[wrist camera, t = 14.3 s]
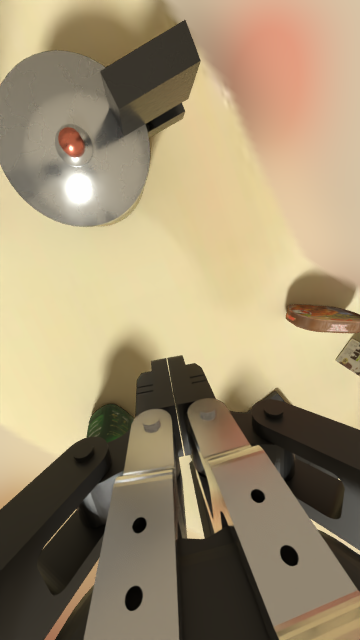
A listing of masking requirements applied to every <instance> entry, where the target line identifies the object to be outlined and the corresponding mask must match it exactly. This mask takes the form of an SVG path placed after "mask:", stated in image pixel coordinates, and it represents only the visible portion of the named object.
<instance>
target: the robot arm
mask: <svg viewBox="0 0 360 640" xmlns="http://www.w3.org/2000/svg"><path fill="white" fill-rule="evenodd" d="M167 359H168V365H169V371H170V376H169V371H168V365H167V360H166V358H164V359H159V360H153V361H151V366H152V371H151V372H146V373H141V375H140V376H139V378H138V379H137V389H136V394H137V395H136V414H135V419H134V420H133V422H132V425H131V428H130V430H129V431H128V432H126V433H125V434H124V435H122V436H121V437H119V438H117V439H115V440H113V441H110V442H108V443H107V442H106V441H105V440H104V439H103V438H101V437H96V436H95V437H88V438H84V439H82V440H80V441H78V442H76V443H75V444H73V445H72V446H71V447H70V448H69V449H67V450H66V451H65V452H64V453H63V454H62V455H61V456H60V457H59V458H57V459H56V460H55V461H54V462H53V463H52V464H51V465H50V466H49V467H47V468H46V469H45V470H44V471H43V472H42V473H41V474H40V475H39V476H37V477H36V478H35V479H34V480H33V481H32V482H31V483H30V484H28V485H27V486H26V487H25V488H24V489H23V490H22V491H21V492H20V493H18V494H17V495H16V496H15V497H14V498H13V499H12V500H11V501H10V502H8V503H7V504H6V505H5V506H4V507H3V508H2V509H1V510H0V640H44V639H45V638H46V636H47V634H48V633H49V632H50V630H51V629H52V627H53V626H54V624H55V623H56V621H57V620H58V618H59V617H60V615H61V614H62V612H63V611H64V609H65V608H66V606H67V605H68V603H69V602H70V600H71V599H72V597H73V596H74V594H75V593H76V591H77V590H78V589H79V587H80V586H81V584H82V583H83V581H84V580H85V578H86V577H87V575H88V574H89V572H90V571H91V569H92V568H93V566H94V565H95V563H96V562H97V560H98V559H99V564H98V568H97V573H96V579H95V584H94V585H93V587H92V588H91V589H90V590H89V591H88V592H87V593H86V594H85V596H84V597H83V598H82V599H81V601H80V602H79V603H78V605H77V606H76V607H75V609H74V610H73V612H72V613H71V615H70V616H69V618H68V619H67V621H66V623H65V624H64V626H63V628H62V629H61V631H60V632H59V634H58V636H57V637H56V639H55V640H360V555H359V554H357V553H356V552H354V551H353V550H351V549H350V548H348V547H347V546H346V545H344V544H343V543H341V542H340V541H338V540H337V539H335V538H333V537H331V536H330V535H328V534H326V533H324V532H322V531H320V530H317V529H316V527H315V526H314V524H313V523H312V521H311V520H310V519H312V520H313V521H315V522H316V523H318V524H320V525H321V526H323V527H324V528H326V529H327V530H329V531H330V532H332V533H334V534H335V535H337V536H338V537H340V538H341V539H343V540H344V541H346V542H348V543H349V544H351V545H352V546H354V547H355V548H357V549H358V550H360V430H358V429H356V428H353V427H350V426H348V425H345V424H342V423H339V422H337V421H334V420H331V419H329V418H326V417H323V416H320V415H318V414H315V413H312V412H309V411H307V410H304V409H301V408H299V407H296V406H293V405H290V404H288V403H285V402H282V401H279V400H273V399H266V400H261V401H259V402H257V403H256V404H254V406H253V407H252V411H251V413H242V412H233V411H229V410H228V409H227V407H226V405H225V404H224V403H223V402H221V401H219V400H217V399H216V398H215V396H214V394H213V392H212V389H211V387H210V385H209V383H208V381H207V378H206V376H205V374H204V372H203V370H202V368H201V367H200V366H198V365H197V364H195V363H193V364H188V365H185V362H184V359H183V356H182V355H181V356H175V357H170V358H167ZM170 377H171V381H170ZM171 383H172V386H171ZM172 389H173V391H172ZM173 395H174V396H173ZM174 400H175V401H174ZM175 405H176V407H175ZM176 410H177V413H176ZM177 415H178V419H177ZM178 420H179V425H180V431H181V436H182V441H183V446H184V451H185V456H186V455H191V457H192V461H193V465H194V467H195V469H196V474H197V478H198V481H199V484H200V487H201V490H202V494H203V497H204V500H205V503H206V506H207V509H208V513H209V516H210V519H211V522H212V525H213V529H214V534H213V535H211V536H210V537H208V538H206V539H187V531H186V519H185V507H184V495H183V483H182V475H181V469H180V463H179V457H181V456H184V455H183V449H182V443H181V437H180V431H179V425H178ZM295 455H297V456H299V457H301V458H303V459H305V460H307V461H309V462H311V463H313V464H315V465H317V466H319V467H321V468H323V469H325V470H327V471H329V472H331V473H333V474H334V475H336V476H337V477H338V478H339V479H340V480H341V481H340V480H338V479H336V478H334V477H332V476H330V475H328V474H326V473H324V472H322V471H320V470H318V469H316V468H314V467H312V466H310V465H308V464H306V463H304V462H302V461H301V460H299V459H297V458H295ZM76 509H77V510H76ZM75 510H76V511H75ZM74 511H75V513H74V514H73V515H72V516H71V517H70V515H71V514H72V513H73V512H74ZM69 517H70V518H69ZM68 518H69V520H68V521H67V522H66V523H65V524H64V526H63V527H62V528H61V529H60V530H59V531H58V532H57V530H58V529H59V528H60V527H61V526H62V525H63V523H64V522H65V521H66V520H67V519H68ZM56 532H57V534H56V535H55V536H54V537H53V538H52V539H51V537H52V536H53V535H54V534H55V533H56ZM50 539H51V541H50V542H49V543H48V544H47V545H46V546H45V544H46V543H47V542H48V541H49V540H50ZM44 546H45V548H44V549H43V547H44ZM42 549H43V550H42ZM99 557H100V558H99Z"/></svg>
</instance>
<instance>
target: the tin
mask: <svg viewBox="0 0 360 640" xmlns="http://www.w3.org/2000/svg"><path fill="white" fill-rule="evenodd" d="M286 319H287V320H288V321H289V322H291V323H292V324H294V325H295V326H297V327H300V328H303V329H306V330H310V331H316V332H332V333H359V332H360V315H359V314H357V313H354V312H351V311H348V310H344V309H341V308H336V307H328V306H313V305H298V304H294V305H289V306H288V310H287V313H286Z"/></svg>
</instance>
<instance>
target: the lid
mask: <svg viewBox="0 0 360 640" xmlns="http://www.w3.org/2000/svg"><path fill="white" fill-rule="evenodd" d="M199 64H200V58H199V55H198V53H197V50H196V47H195V45H194V42H193V39H192V37H191V34H190V31H189V29H188V26H187V23H186V20H184V21H182V22H181V23H179V24H177V25H176V26H174V27H172V28H171V29H169V30H167V31H166V32H164V33H162V34H161V35H159V36H157V37H156V38H154V39H152V40H151V41H149V42H147V43H146V44H144V45H142V46H141V47H139V48H137V49H136V50H134V51H132V52H131V53H129V54H128V55H126V56H124V57H123V58H121V59H119V60H118V61H116V62H114V63H113V64H111V65H109V66H108V67H104V66H103V65H101V64H100V63H98V62H96V61H95V60H93V59H91V58H89V57H86V56H83V55H81V54H78V53H73V52H69V51H57V50H55V51H45V52H41V53H38V54H34V55H32V56H30V57H28V58H26V59H24V60H23V61H21V62H20V63H19V64H17V65H16V66H15V67H14V68H13V69H12V70H11V71H10V72H9V73H8V74H7V76H6V77H5V79H4V80H3V82H2V83H1V85H0V165H1V167H2V169H3V171H4V173H5V175H6V177H7V178H8V180H9V181H10V183H11V185H12V186H13V187H14V188H15V190H16V191H17V192H18V194H19V195H20V196H21V197H22V198H23V199H24V200H25V201H26V202H27V203H28V204H30V205H31V206H32V207H33V208H34V209H36V210H37V211H39V212H40V213H42V214H43V215H45V216H47V217H49V218H51V219H53V220H55V221H58V222H60V223H63V224H67V225H72V226H79V227H94V226H100V225H104V224H107V223H110V222H112V221H114V220H116V219H118V218H119V217H121V216H122V215H124V214H125V213H126V212H127V211H128V210H129V209H130V208H131V207H132V206H133V205H134V204H135V202H136V201H137V199H138V198H139V196H140V195H141V193H142V190H143V188H144V186H145V183H146V180H147V176H148V171H149V165H150V144H149V137H148V131H147V128H146V123H148V122H150V121H151V120H153V119H155V118H156V117H158V116H160V115H161V114H163V113H165V112H167V111H168V110H170V109H172V108H173V107H175V106H177V105H178V104H180V103H182V102H183V101H185V100H187V99H188V98H189V95H190V92H191V89H192V86H193V83H194V79H195V76H196V73H197V70H198V67H199Z"/></svg>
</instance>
